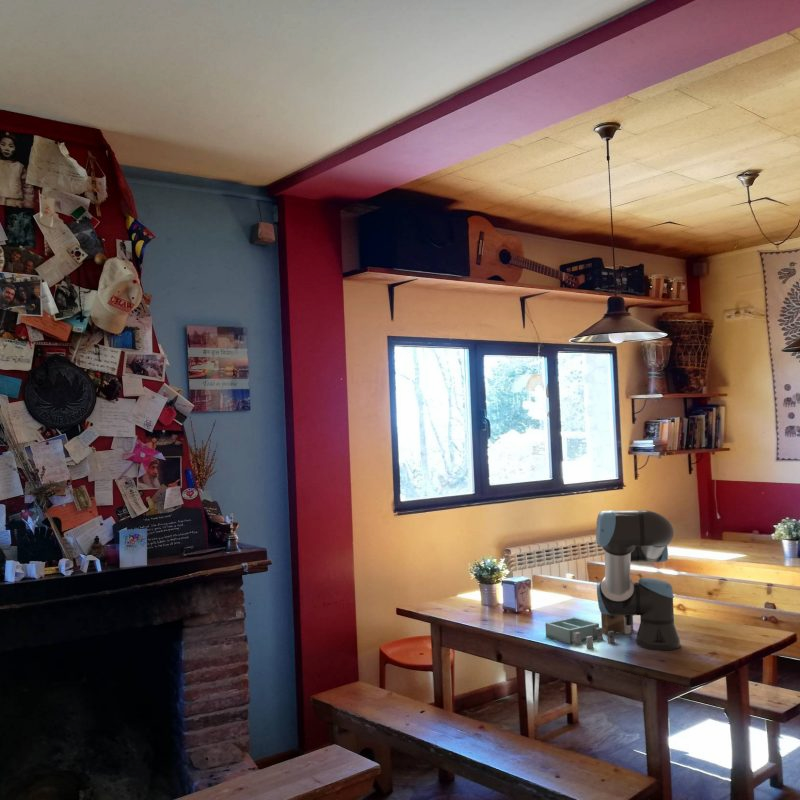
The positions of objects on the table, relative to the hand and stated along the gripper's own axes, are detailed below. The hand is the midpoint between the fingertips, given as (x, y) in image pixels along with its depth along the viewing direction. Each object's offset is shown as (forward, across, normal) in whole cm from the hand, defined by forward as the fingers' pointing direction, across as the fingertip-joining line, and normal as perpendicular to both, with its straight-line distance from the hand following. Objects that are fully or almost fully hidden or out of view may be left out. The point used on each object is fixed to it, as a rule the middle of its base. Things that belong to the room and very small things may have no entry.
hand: (617, 630), depth 306 cm
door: (0, 0, 0) cm, 0 cm away
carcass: (0, +5, +19) cm, 20 cm away
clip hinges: (0, -6, +19) cm, 20 cm away
